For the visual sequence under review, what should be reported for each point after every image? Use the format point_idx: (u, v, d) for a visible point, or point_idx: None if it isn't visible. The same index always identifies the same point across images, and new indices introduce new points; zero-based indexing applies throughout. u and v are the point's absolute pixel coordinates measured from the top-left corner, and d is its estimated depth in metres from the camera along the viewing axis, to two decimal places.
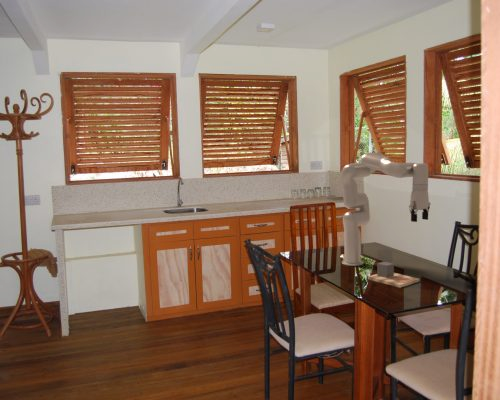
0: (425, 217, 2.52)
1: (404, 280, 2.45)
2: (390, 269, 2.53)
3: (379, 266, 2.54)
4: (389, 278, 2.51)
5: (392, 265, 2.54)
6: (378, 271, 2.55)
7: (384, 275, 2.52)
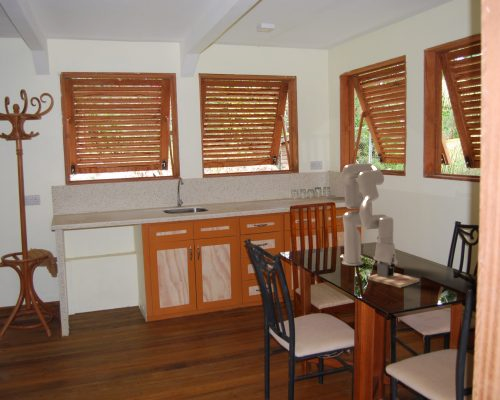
0: None
1: (404, 280, 2.45)
2: None
3: (379, 266, 2.54)
4: (389, 278, 2.51)
5: None
6: (378, 271, 2.55)
7: (384, 275, 2.52)
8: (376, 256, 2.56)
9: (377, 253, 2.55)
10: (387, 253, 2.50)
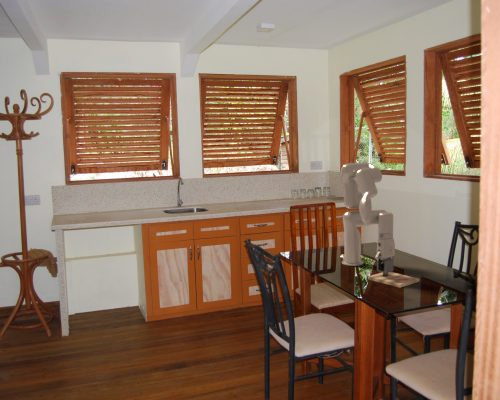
0: None
1: (404, 280, 2.45)
2: None
3: (388, 263, 2.52)
4: (389, 278, 2.51)
5: None
6: (387, 268, 2.52)
7: (391, 269, 2.54)
8: (385, 254, 2.50)
9: (385, 250, 2.50)
10: (393, 247, 2.54)
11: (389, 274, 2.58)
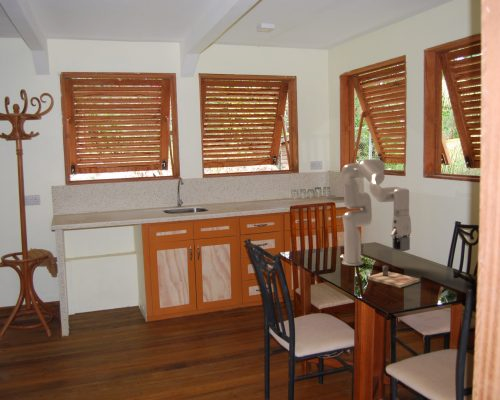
0: None
1: (404, 280, 2.45)
2: None
3: (404, 240, 2.42)
4: (389, 278, 2.51)
5: None
6: (403, 246, 2.42)
7: (408, 248, 2.45)
8: (401, 231, 2.41)
9: (401, 228, 2.41)
10: (409, 224, 2.45)
11: (389, 274, 2.58)
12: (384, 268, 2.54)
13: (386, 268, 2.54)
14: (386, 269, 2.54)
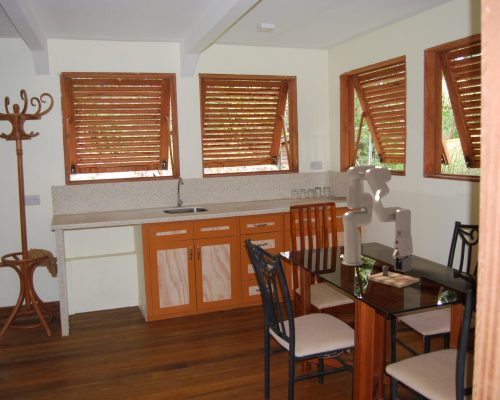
0: None
1: (404, 280, 2.45)
2: None
3: (406, 261, 2.43)
4: (389, 278, 2.51)
5: None
6: (405, 267, 2.43)
7: (409, 268, 2.45)
8: (402, 252, 2.41)
9: (403, 248, 2.41)
10: (411, 244, 2.45)
11: (389, 274, 2.58)
12: (384, 268, 2.54)
13: (386, 268, 2.54)
14: (386, 269, 2.54)
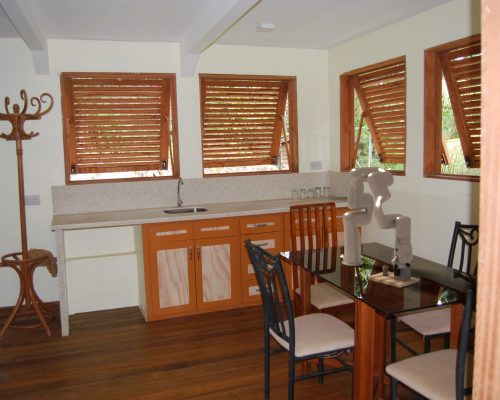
0: None
1: None
2: None
3: (405, 271, 2.44)
4: (389, 278, 2.51)
5: None
6: (404, 276, 2.43)
7: (409, 278, 2.46)
8: (402, 259, 2.42)
9: (403, 256, 2.42)
10: (411, 252, 2.45)
11: (389, 274, 2.58)
12: (384, 268, 2.54)
13: (386, 268, 2.54)
14: (386, 269, 2.54)
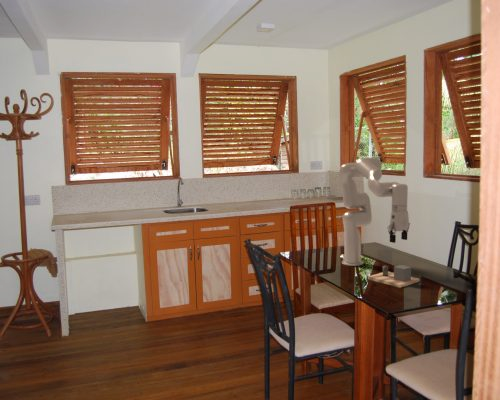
0: None
1: None
2: None
3: (405, 271, 2.44)
4: (389, 278, 2.51)
5: None
6: (404, 276, 2.43)
7: (409, 278, 2.46)
8: (398, 226, 2.43)
9: (399, 223, 2.43)
10: (407, 219, 2.47)
11: (389, 274, 2.58)
12: (384, 268, 2.54)
13: (386, 268, 2.54)
14: (386, 269, 2.54)
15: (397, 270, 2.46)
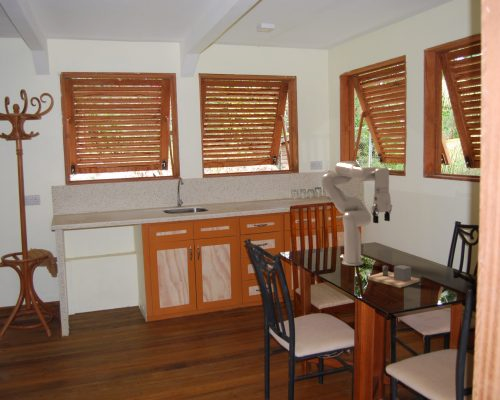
0: None
1: None
2: None
3: (405, 271, 2.44)
4: (389, 278, 2.51)
5: None
6: (404, 276, 2.43)
7: (409, 278, 2.46)
8: (381, 208, 2.59)
9: (382, 204, 2.59)
10: (389, 201, 2.63)
11: (389, 274, 2.58)
12: (384, 268, 2.54)
13: (386, 268, 2.54)
14: (386, 269, 2.54)
15: (397, 270, 2.46)
